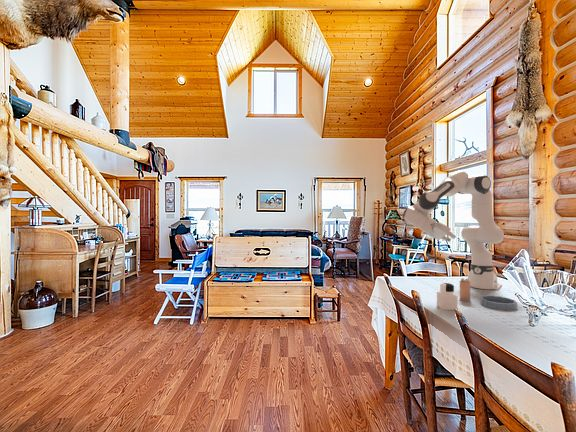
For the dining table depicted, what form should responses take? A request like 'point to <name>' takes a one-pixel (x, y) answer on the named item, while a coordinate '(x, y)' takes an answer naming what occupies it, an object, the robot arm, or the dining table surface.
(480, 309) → the dining table surface
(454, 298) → the medicine bottle
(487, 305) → the bowl
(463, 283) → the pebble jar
